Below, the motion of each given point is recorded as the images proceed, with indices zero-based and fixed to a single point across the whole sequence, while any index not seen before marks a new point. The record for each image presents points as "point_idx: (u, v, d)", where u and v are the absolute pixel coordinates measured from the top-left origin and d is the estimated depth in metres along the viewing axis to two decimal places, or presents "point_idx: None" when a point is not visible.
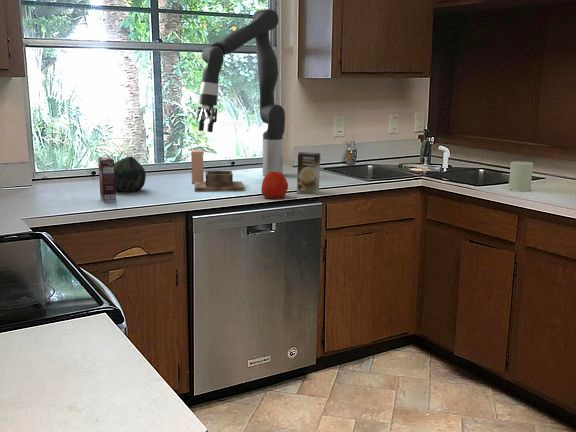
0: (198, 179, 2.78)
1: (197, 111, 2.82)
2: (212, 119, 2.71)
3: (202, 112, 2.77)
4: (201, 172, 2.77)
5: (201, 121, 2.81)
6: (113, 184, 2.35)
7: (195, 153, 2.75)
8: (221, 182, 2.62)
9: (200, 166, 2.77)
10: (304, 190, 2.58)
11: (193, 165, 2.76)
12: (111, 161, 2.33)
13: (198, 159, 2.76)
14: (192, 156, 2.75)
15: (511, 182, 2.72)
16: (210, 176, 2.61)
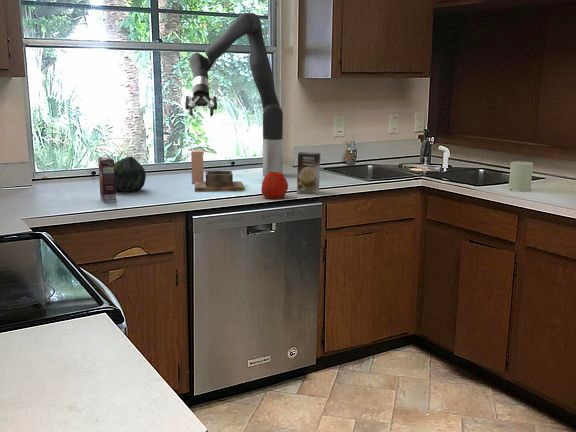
0: (198, 179, 2.78)
1: None
2: None
3: None
4: (201, 172, 2.77)
5: (210, 108, 2.89)
6: (113, 184, 2.35)
7: (195, 153, 2.75)
8: (221, 182, 2.62)
9: (200, 166, 2.77)
10: (304, 190, 2.58)
11: (193, 165, 2.76)
12: (111, 161, 2.33)
13: (198, 159, 2.76)
14: (192, 156, 2.75)
15: (511, 182, 2.72)
16: (210, 176, 2.61)
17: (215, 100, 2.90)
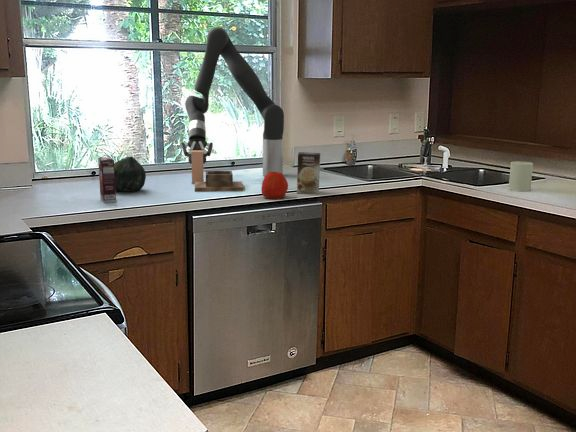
0: (198, 179, 2.78)
1: (211, 150, 2.83)
2: None
3: None
4: (201, 172, 2.77)
5: None
6: (113, 184, 2.35)
7: (195, 153, 2.75)
8: (221, 182, 2.62)
9: (200, 166, 2.77)
10: (304, 190, 2.58)
11: (193, 165, 2.76)
12: (111, 161, 2.33)
13: (198, 159, 2.76)
14: (192, 156, 2.75)
15: (511, 182, 2.72)
16: (210, 176, 2.61)
17: (210, 146, 2.81)
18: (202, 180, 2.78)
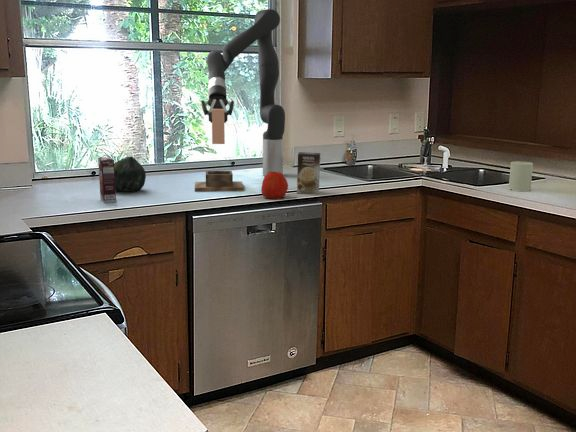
0: (219, 139, 2.61)
1: None
2: (204, 112, 2.63)
3: None
4: (222, 131, 2.61)
5: None
6: (113, 184, 2.35)
7: (216, 111, 2.59)
8: (221, 182, 2.62)
9: (221, 125, 2.60)
10: (304, 190, 2.58)
11: (214, 124, 2.60)
12: (111, 161, 2.33)
13: (219, 118, 2.60)
14: (213, 114, 2.59)
15: (511, 182, 2.72)
16: (210, 176, 2.61)
17: (231, 105, 2.64)
18: (223, 140, 2.62)
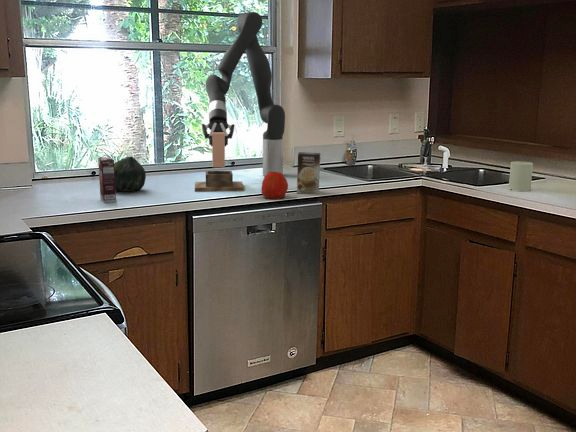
0: (219, 162, 2.63)
1: None
2: (204, 135, 2.65)
3: None
4: (222, 155, 2.63)
5: None
6: (113, 184, 2.35)
7: (216, 135, 2.61)
8: (221, 182, 2.62)
9: (221, 148, 2.62)
10: (304, 190, 2.58)
11: (214, 147, 2.62)
12: (111, 161, 2.33)
13: (219, 142, 2.62)
14: (213, 138, 2.61)
15: (511, 182, 2.72)
16: (210, 176, 2.61)
17: (232, 128, 2.66)
18: (223, 164, 2.64)
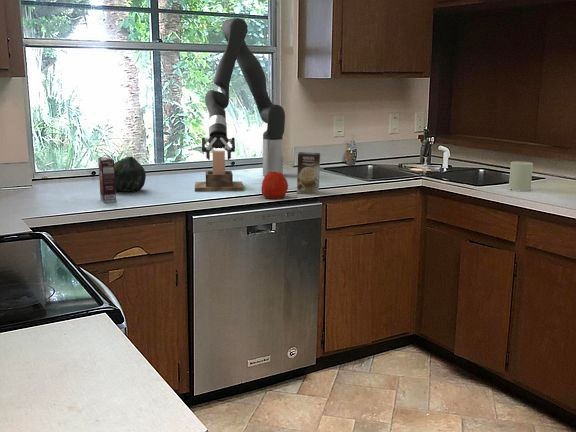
0: None
1: None
2: None
3: None
4: (223, 173, 2.65)
5: None
6: (113, 184, 2.35)
7: (217, 153, 2.63)
8: (221, 182, 2.62)
9: (221, 167, 2.64)
10: (304, 190, 2.58)
11: (214, 166, 2.64)
12: (111, 161, 2.33)
13: (219, 160, 2.63)
14: (214, 157, 2.63)
15: (511, 182, 2.72)
16: (210, 176, 2.61)
17: (233, 142, 2.68)
18: None
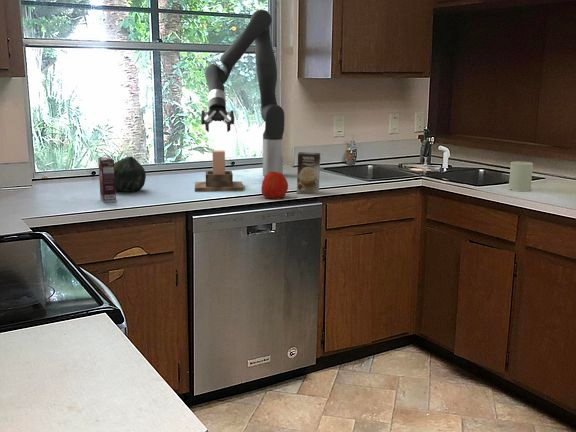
0: None
1: None
2: (201, 122, 2.75)
3: None
4: (223, 173, 2.65)
5: (227, 123, 2.75)
6: (113, 184, 2.35)
7: (217, 153, 2.63)
8: (221, 182, 2.62)
9: (221, 167, 2.64)
10: (304, 190, 2.58)
11: (214, 166, 2.64)
12: (111, 161, 2.33)
13: (219, 160, 2.63)
14: (214, 157, 2.63)
15: (511, 182, 2.72)
16: (210, 176, 2.61)
17: (232, 114, 2.76)
18: None
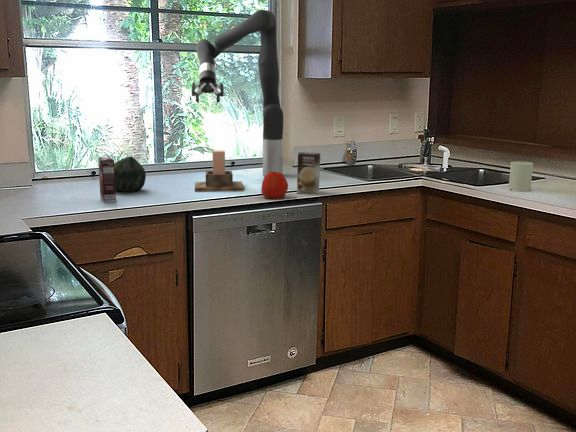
0: None
1: None
2: None
3: None
4: (223, 173, 2.65)
5: (216, 95, 2.86)
6: (113, 184, 2.35)
7: (217, 153, 2.63)
8: (221, 182, 2.62)
9: (221, 167, 2.64)
10: (304, 190, 2.58)
11: (214, 166, 2.64)
12: (111, 161, 2.33)
13: (219, 160, 2.63)
14: (214, 157, 2.63)
15: (511, 182, 2.72)
16: (210, 176, 2.61)
17: (222, 87, 2.87)
18: None
